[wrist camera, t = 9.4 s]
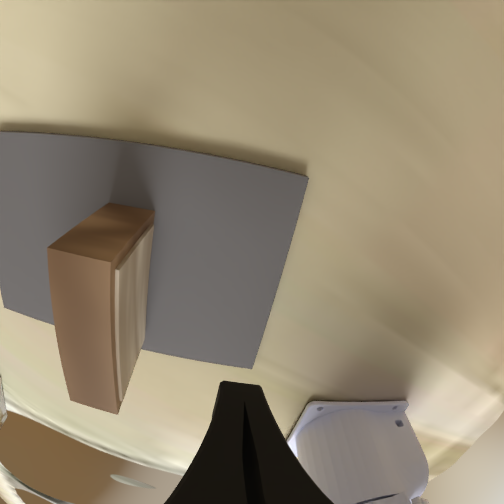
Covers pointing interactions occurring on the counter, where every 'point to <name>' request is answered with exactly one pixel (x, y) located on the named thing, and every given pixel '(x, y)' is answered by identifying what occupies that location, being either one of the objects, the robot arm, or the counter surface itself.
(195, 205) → the mat
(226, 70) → the counter surface
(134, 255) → the slab
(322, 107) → the counter surface
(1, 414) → the coffee box
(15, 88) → the counter surface
